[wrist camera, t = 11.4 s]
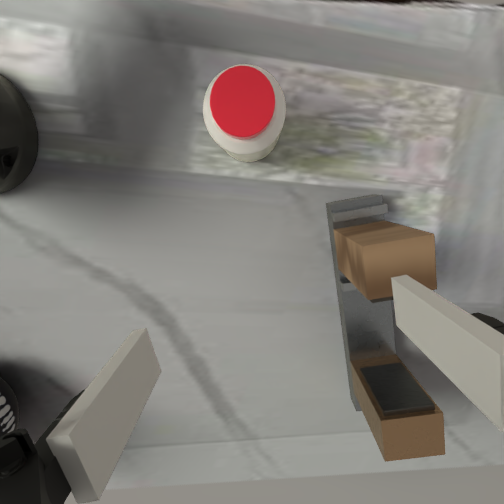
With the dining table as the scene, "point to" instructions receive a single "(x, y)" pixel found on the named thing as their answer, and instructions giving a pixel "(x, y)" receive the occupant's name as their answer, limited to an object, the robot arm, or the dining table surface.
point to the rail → (356, 306)
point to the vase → (8, 409)
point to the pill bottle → (245, 111)
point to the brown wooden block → (385, 257)
